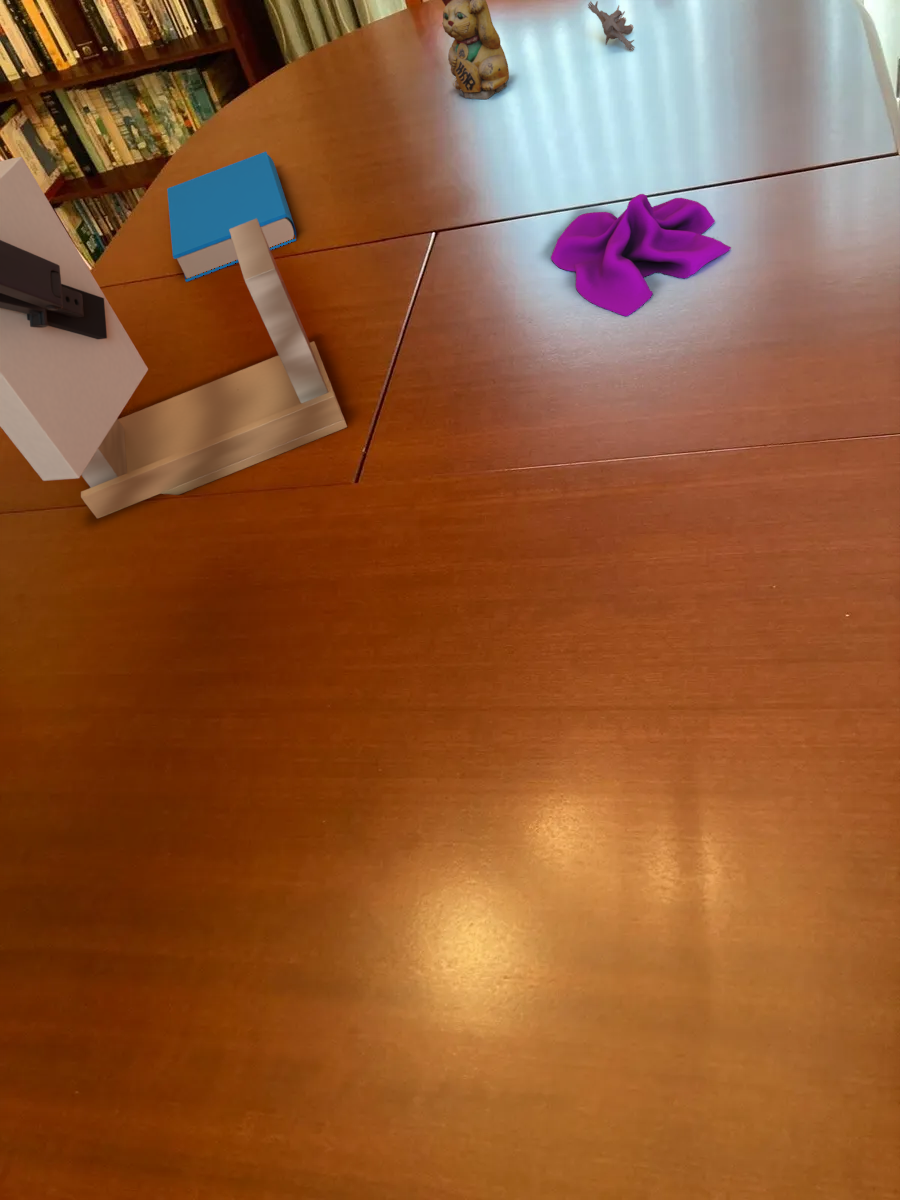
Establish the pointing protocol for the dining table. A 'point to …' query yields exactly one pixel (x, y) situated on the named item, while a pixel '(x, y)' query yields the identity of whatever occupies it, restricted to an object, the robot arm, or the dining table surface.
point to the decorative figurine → (474, 49)
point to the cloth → (635, 250)
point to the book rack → (222, 407)
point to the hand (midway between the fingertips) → (78, 321)
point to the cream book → (57, 349)
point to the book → (226, 213)
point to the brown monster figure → (613, 25)
